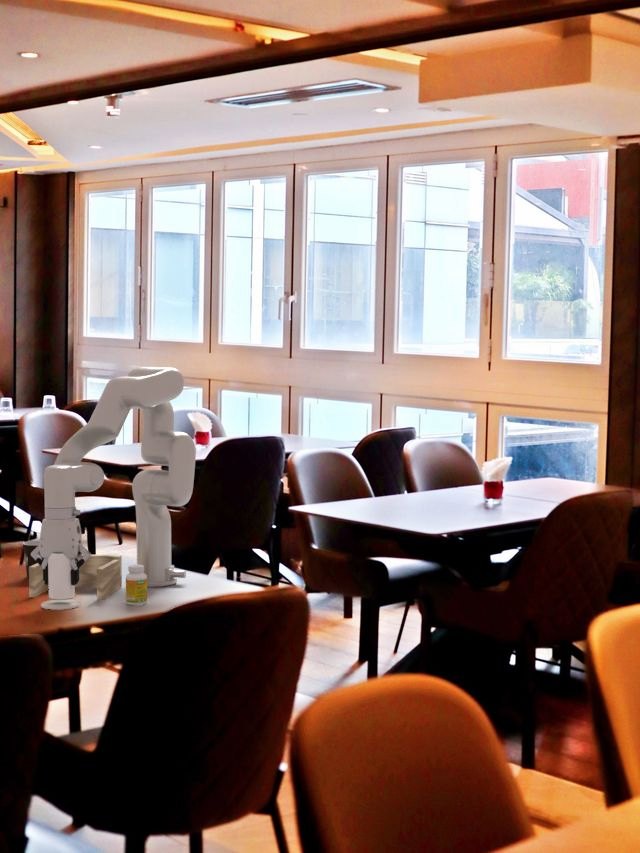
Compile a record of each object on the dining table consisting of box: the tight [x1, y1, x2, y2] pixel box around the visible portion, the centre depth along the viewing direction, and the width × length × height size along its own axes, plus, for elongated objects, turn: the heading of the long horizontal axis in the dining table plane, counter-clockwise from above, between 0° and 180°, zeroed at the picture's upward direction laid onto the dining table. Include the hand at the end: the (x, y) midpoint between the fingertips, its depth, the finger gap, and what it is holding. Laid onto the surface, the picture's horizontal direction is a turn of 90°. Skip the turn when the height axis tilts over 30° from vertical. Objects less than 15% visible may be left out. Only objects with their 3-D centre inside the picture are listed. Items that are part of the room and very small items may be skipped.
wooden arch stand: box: [28, 554, 123, 600], centre depth 324 cm, size 20×16×9 cm
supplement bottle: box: [125, 564, 148, 606], centre depth 311 cm, size 5×5×10 cm
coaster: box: [40, 599, 82, 611], centre depth 308 cm, size 10×10×1 cm
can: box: [48, 552, 76, 600], centre depth 308 cm, size 6×6×12 cm
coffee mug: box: [22, 539, 44, 580], centre depth 346 cm, size 12×9×10 cm
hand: (61, 583), depth 308 cm, fingers closed on can, 6 cm apart
